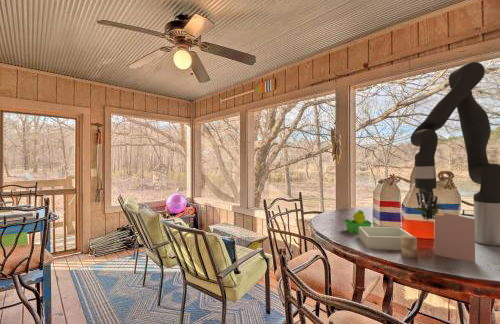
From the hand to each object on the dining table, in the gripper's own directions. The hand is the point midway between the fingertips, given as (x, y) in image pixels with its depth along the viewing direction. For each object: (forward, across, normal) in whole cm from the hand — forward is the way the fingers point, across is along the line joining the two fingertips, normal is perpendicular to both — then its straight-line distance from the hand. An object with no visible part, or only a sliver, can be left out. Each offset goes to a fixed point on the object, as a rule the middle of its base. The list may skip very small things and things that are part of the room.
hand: (427, 217), depth 111 cm
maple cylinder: (+11, -16, +14) cm, 24 cm away
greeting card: (+11, -16, -1) cm, 19 cm away
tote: (+10, -2, +18) cm, 21 cm away
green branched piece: (+1, 0, 0) cm, 1 cm away
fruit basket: (+11, +15, +25) cm, 31 cm away
